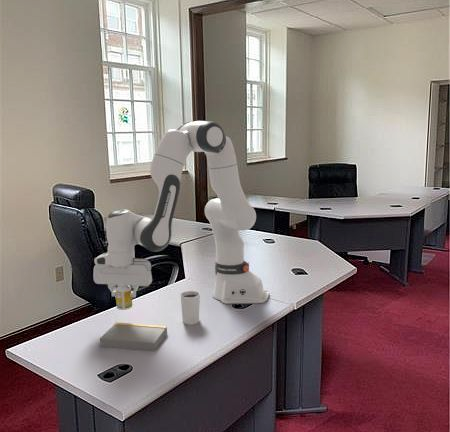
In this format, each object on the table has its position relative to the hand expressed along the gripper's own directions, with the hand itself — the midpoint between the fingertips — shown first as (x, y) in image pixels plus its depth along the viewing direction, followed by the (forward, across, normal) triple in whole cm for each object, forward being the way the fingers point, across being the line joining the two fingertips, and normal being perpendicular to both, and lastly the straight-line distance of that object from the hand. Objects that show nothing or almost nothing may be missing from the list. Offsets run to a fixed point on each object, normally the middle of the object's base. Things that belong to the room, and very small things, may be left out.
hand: (123, 296), depth 159 cm
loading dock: (+10, -8, +11) cm, 17 cm away
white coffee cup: (+10, -22, -6) cm, 25 cm away
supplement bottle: (+4, 0, 0) cm, 4 cm away
